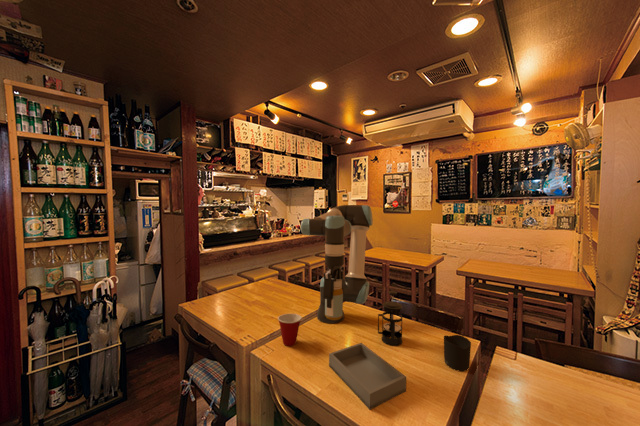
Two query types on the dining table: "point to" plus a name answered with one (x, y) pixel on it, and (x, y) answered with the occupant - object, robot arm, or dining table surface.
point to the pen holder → (457, 352)
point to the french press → (391, 323)
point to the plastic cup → (289, 328)
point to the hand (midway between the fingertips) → (333, 312)
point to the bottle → (336, 301)
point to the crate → (367, 374)
